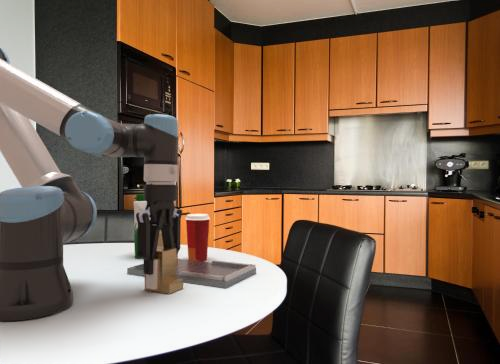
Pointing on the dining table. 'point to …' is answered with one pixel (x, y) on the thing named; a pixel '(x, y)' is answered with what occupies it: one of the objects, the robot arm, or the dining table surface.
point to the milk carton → (138, 208)
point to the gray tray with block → (205, 271)
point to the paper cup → (197, 236)
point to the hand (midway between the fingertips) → (159, 285)
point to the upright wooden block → (166, 271)
